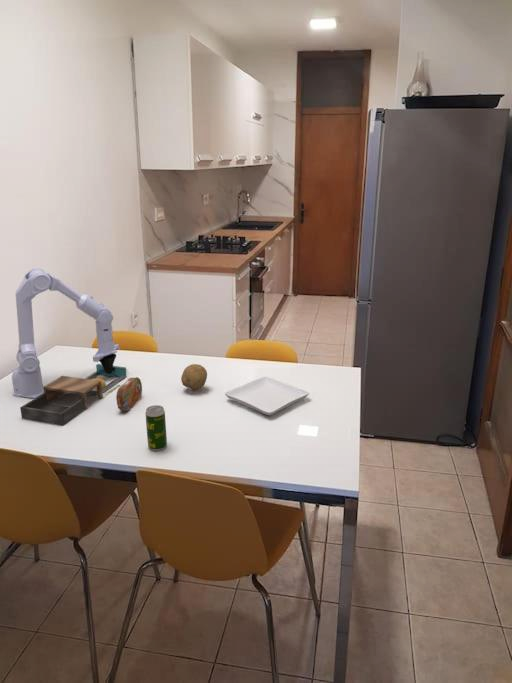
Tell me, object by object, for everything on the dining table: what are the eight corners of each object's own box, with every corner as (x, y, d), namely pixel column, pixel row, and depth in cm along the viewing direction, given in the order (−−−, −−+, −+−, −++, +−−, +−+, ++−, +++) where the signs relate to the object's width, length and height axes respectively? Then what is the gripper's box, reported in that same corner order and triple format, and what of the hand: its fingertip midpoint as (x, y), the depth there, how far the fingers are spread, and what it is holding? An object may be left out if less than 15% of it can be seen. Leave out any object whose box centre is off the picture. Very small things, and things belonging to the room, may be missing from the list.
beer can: (158, 440, 156) (156, 403, 152) (171, 446, 153) (168, 408, 149) (144, 447, 152) (141, 409, 148) (156, 453, 149) (153, 415, 145)
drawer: (68, 392, 188) (66, 382, 187) (98, 372, 205) (97, 363, 204) (97, 396, 185) (96, 386, 183) (126, 376, 201) (125, 367, 200)
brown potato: (186, 397, 184) (184, 371, 181) (178, 388, 192) (177, 362, 188) (210, 393, 187) (210, 366, 184) (202, 384, 195) (201, 358, 192)
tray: (20, 418, 170) (17, 400, 168) (82, 380, 199) (80, 364, 197) (64, 425, 165) (61, 407, 163) (120, 385, 194) (118, 369, 192)
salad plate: (310, 400, 182) (311, 391, 181) (269, 422, 167) (269, 412, 166) (265, 383, 196) (265, 375, 195) (223, 402, 181) (222, 393, 180)
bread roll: (108, 390, 190) (107, 380, 189) (82, 395, 186) (81, 385, 185) (102, 382, 197) (101, 372, 196) (77, 387, 193) (76, 377, 192)
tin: (125, 415, 172) (122, 391, 169) (116, 414, 172) (113, 390, 169) (143, 396, 186) (141, 373, 183) (135, 395, 186) (133, 373, 183)
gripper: (103, 346, 189) (107, 381, 193) (125, 334, 202) (128, 367, 206) (86, 344, 191) (90, 379, 195) (108, 332, 204) (112, 365, 208)
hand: (108, 373), depth 201 cm, fingers closed
